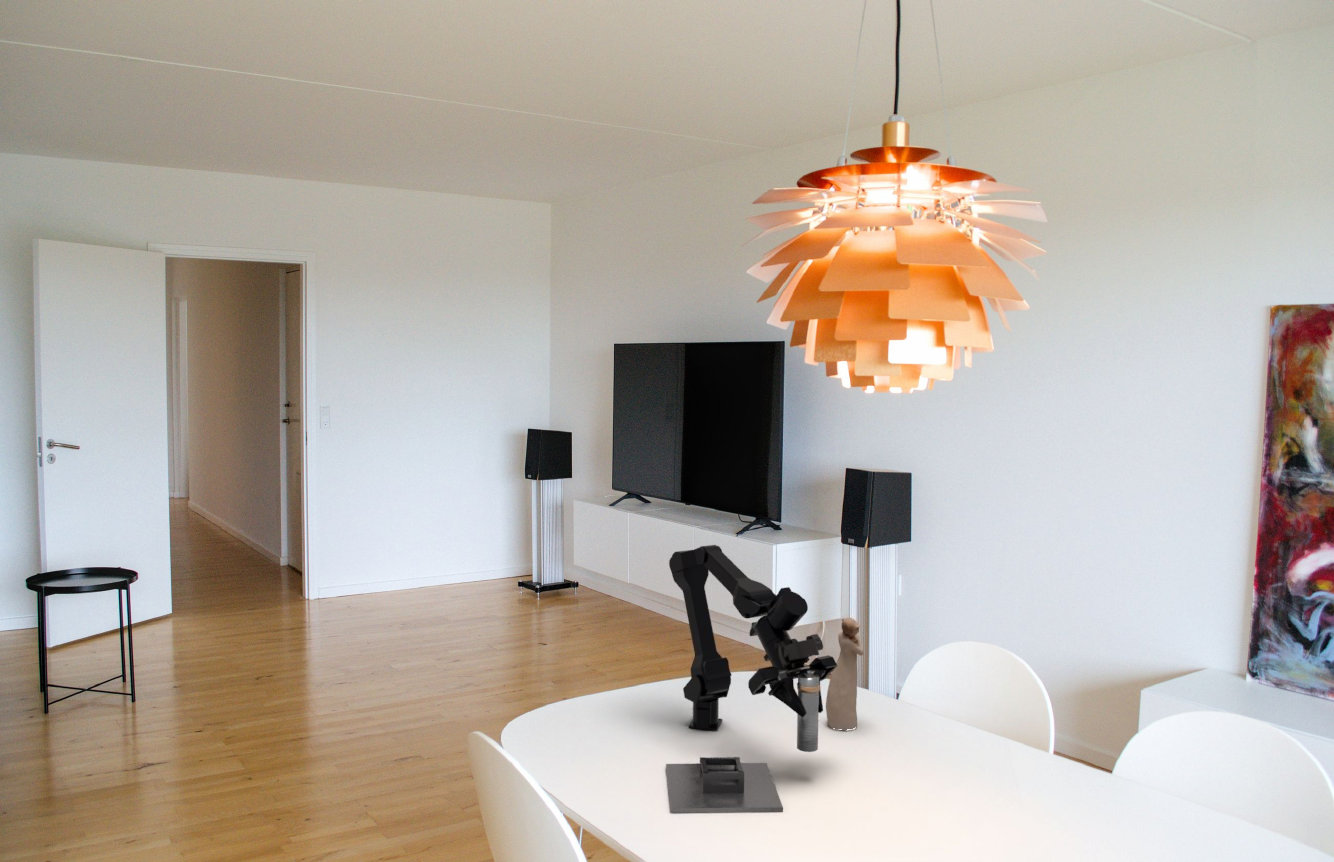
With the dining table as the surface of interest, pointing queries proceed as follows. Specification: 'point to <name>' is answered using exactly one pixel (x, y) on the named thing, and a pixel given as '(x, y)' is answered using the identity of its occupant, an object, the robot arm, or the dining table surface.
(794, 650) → the robot arm
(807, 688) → the grey metal cylinder
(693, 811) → the collar stand
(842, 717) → the figurine
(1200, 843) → the dining table surface
